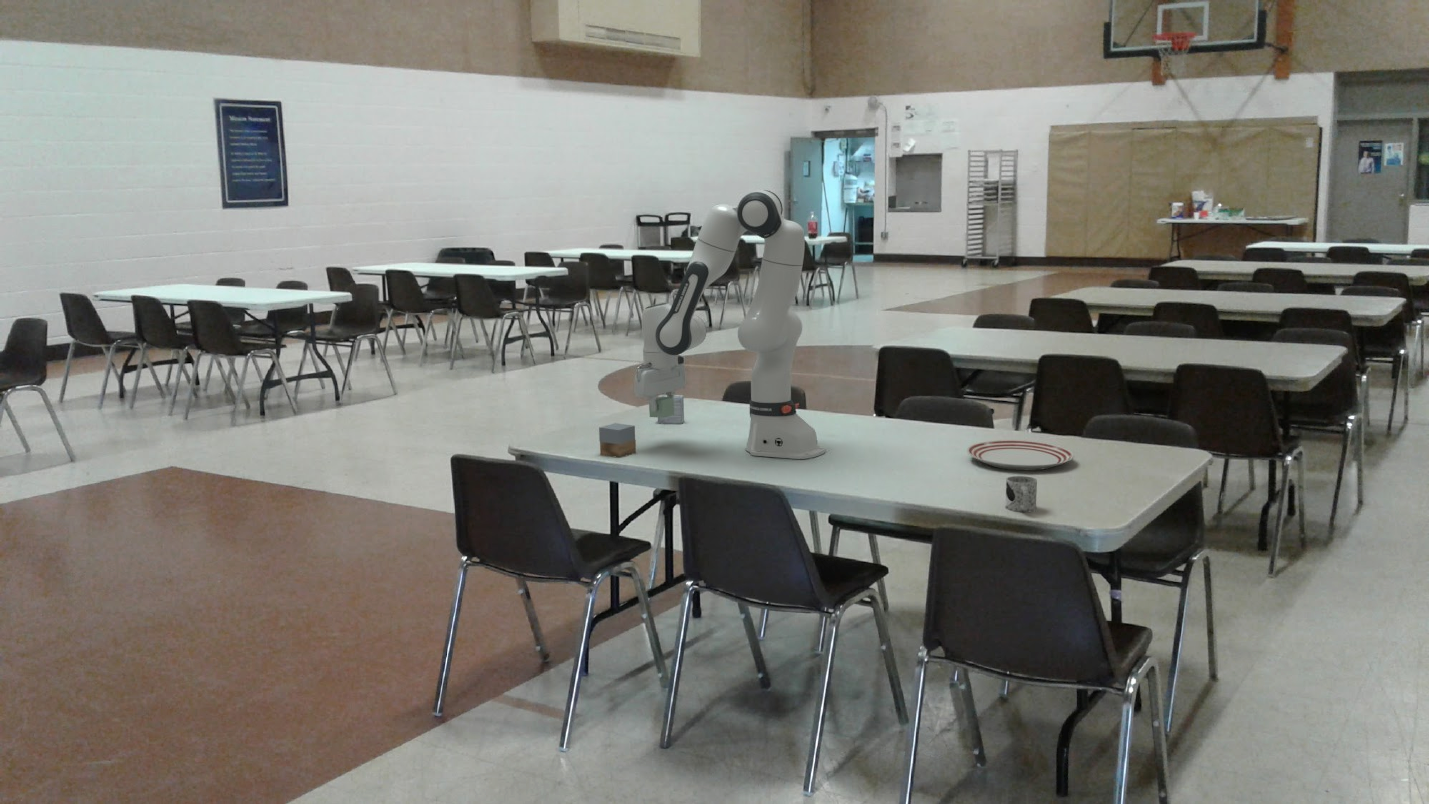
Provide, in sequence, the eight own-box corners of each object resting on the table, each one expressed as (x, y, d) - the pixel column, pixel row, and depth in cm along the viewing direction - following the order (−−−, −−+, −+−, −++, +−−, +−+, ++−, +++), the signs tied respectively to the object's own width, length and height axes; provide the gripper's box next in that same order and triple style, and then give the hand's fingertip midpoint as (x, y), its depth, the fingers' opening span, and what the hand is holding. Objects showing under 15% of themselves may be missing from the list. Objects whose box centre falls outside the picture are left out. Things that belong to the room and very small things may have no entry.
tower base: (635, 453, 324) (635, 439, 323) (620, 458, 318) (619, 444, 317) (616, 450, 327) (616, 437, 327) (600, 455, 322) (600, 441, 321)
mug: (1003, 504, 265) (1004, 475, 264) (1033, 504, 264) (1034, 476, 263) (1010, 516, 255) (1011, 486, 254) (1041, 516, 254) (1042, 486, 253)
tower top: (635, 439, 323) (634, 425, 322) (619, 444, 317) (618, 430, 316) (615, 437, 327) (615, 423, 326) (599, 441, 321) (599, 427, 320)
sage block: (674, 415, 331) (673, 397, 330) (663, 417, 327) (662, 400, 326) (660, 414, 334) (659, 396, 333) (649, 416, 330) (648, 399, 329)
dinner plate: (1092, 472, 295) (1093, 459, 295) (990, 477, 291) (991, 464, 290) (1045, 449, 322) (1045, 437, 322) (951, 454, 318) (951, 442, 317)
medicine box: (684, 421, 368) (683, 394, 367) (682, 424, 364) (682, 397, 362) (659, 421, 369) (659, 394, 367) (657, 424, 364) (657, 397, 363)
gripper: (645, 366, 318) (648, 415, 320) (688, 356, 334) (691, 404, 336) (627, 365, 321) (630, 414, 323) (671, 356, 338) (673, 403, 340)
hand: (661, 409), depth 330 cm, fingers closed on sage block, 5 cm apart
